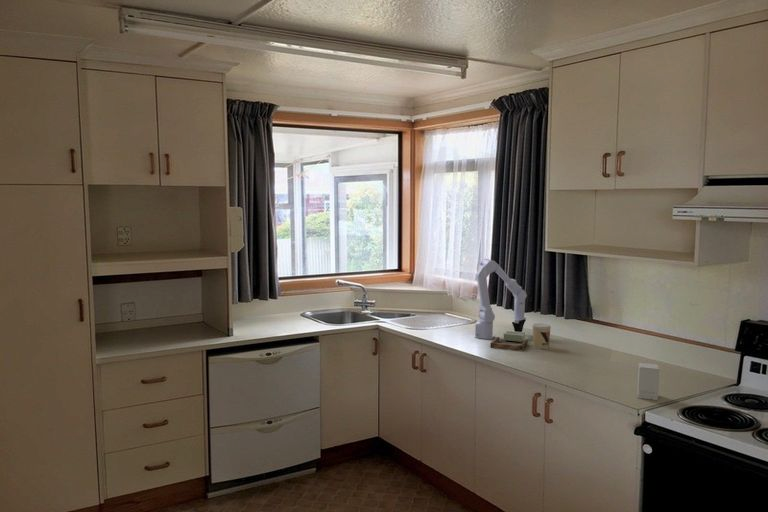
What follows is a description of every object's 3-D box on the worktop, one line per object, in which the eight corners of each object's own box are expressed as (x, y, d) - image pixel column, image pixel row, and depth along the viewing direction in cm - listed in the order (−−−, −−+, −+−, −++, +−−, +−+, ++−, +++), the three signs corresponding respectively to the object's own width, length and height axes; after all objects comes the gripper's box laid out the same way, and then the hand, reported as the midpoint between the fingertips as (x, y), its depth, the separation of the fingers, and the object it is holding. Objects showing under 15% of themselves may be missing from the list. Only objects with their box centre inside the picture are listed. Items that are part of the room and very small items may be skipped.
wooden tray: (490, 347, 319) (490, 342, 319) (497, 341, 333) (497, 336, 333) (521, 350, 313) (521, 346, 312) (527, 344, 327) (527, 339, 326)
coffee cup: (543, 350, 314) (543, 327, 312) (528, 347, 321) (528, 324, 320) (553, 347, 320) (554, 325, 318) (538, 344, 327) (539, 322, 326)
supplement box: (658, 400, 237) (659, 369, 236) (637, 398, 240) (639, 367, 239) (657, 394, 244) (658, 364, 243) (637, 392, 247) (638, 362, 246)
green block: (503, 341, 333) (503, 333, 333) (506, 338, 340) (506, 330, 340) (521, 343, 329) (522, 335, 329) (524, 340, 336) (524, 332, 336)
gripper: (523, 312, 336) (523, 336, 338) (528, 308, 349) (528, 331, 351) (511, 311, 339) (510, 335, 340) (516, 307, 352) (515, 330, 354)
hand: (518, 333), depth 346 cm, fingers open, 7 cm apart
